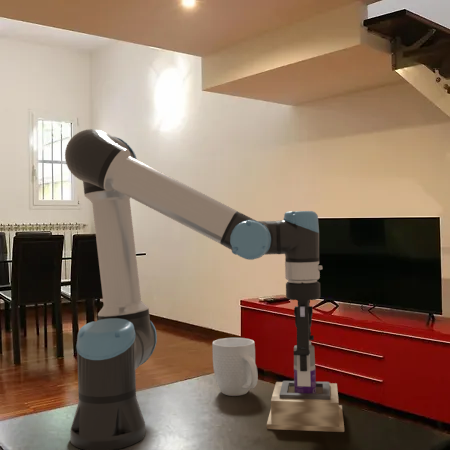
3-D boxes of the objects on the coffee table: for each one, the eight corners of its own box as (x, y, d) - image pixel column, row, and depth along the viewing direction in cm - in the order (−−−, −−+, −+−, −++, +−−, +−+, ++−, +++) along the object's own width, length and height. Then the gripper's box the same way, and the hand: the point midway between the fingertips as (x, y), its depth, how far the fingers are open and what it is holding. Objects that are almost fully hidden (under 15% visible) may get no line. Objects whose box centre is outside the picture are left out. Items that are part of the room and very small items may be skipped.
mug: (274, 397, 139) (272, 344, 139) (237, 406, 133) (236, 351, 133) (239, 383, 151) (238, 335, 151) (205, 391, 145) (204, 341, 145)
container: (318, 417, 120) (316, 348, 120) (296, 418, 120) (294, 349, 120) (314, 410, 125) (313, 344, 125) (294, 411, 125) (292, 344, 125)
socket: (266, 428, 117) (266, 396, 117) (272, 407, 131) (271, 378, 131) (344, 432, 114) (343, 399, 114) (341, 409, 128) (341, 380, 128)
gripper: (319, 287, 110) (322, 394, 110) (320, 275, 134) (322, 363, 134) (281, 287, 111) (284, 393, 111) (289, 275, 136) (291, 362, 136)
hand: (305, 377), depth 123 cm, fingers open, 13 cm apart
